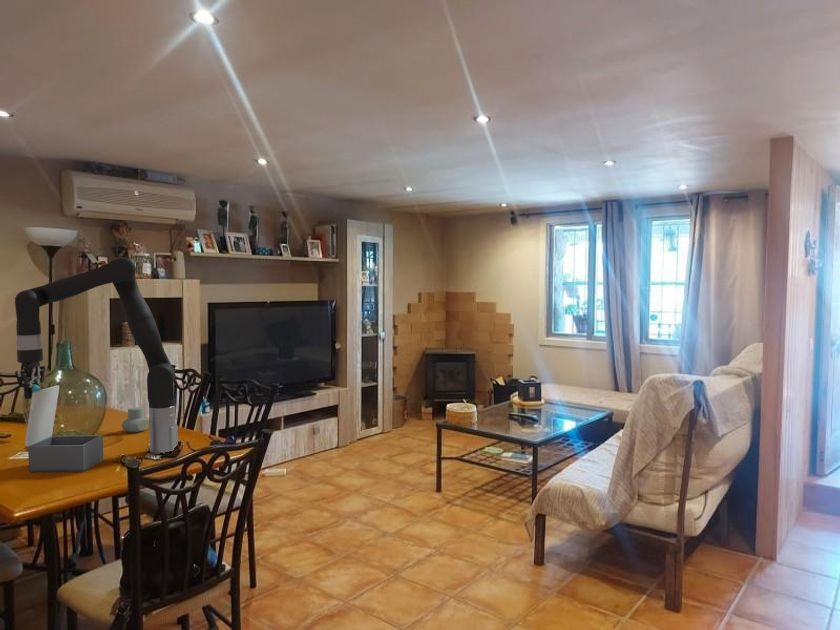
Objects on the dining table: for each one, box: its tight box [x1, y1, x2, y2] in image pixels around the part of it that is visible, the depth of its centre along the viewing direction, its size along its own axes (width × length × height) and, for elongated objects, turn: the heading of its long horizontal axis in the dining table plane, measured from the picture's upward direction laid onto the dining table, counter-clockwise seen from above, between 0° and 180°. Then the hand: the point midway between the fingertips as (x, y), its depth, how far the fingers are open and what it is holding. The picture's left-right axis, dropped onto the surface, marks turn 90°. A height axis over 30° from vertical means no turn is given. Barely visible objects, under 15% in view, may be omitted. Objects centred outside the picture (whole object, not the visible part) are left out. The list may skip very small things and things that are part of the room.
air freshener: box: [121, 406, 149, 433], centre depth 260 cm, size 11×8×10 cm
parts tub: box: [27, 434, 105, 474], centre depth 209 cm, size 18×14×9 cm
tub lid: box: [24, 384, 60, 447], centre depth 207 cm, size 19×14×6 cm
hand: (32, 397), depth 207 cm, fingers closed on tub lid, 3 cm apart
